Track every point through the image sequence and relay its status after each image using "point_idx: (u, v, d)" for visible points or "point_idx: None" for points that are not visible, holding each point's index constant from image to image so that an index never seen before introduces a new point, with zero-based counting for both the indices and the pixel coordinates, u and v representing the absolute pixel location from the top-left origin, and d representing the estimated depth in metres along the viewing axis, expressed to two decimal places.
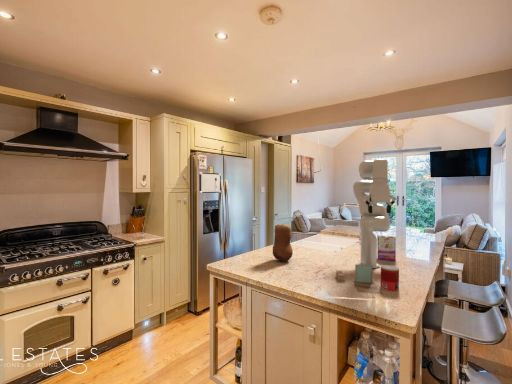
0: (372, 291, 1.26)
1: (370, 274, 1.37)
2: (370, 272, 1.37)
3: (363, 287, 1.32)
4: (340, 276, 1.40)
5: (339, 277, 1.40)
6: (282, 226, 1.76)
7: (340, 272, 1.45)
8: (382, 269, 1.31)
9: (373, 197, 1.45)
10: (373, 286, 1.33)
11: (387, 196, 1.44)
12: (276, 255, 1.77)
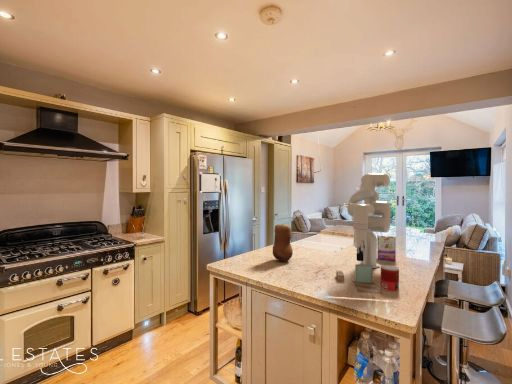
0: (372, 291, 1.26)
1: (370, 274, 1.37)
2: (370, 272, 1.37)
3: (363, 287, 1.32)
4: (340, 276, 1.40)
5: (339, 277, 1.40)
6: (282, 226, 1.76)
7: (340, 272, 1.45)
8: (382, 269, 1.31)
9: (366, 244, 1.41)
10: (373, 286, 1.33)
11: None
12: (276, 255, 1.77)
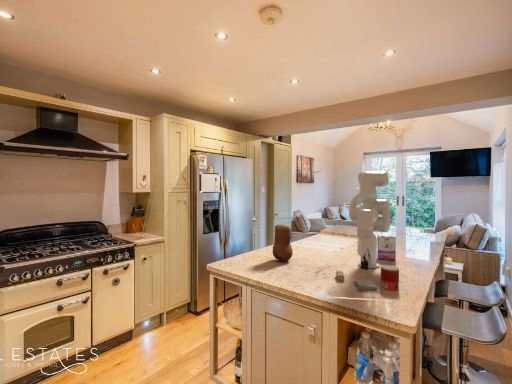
0: (372, 291, 1.26)
1: None
2: None
3: None
4: (340, 276, 1.40)
5: (339, 277, 1.40)
6: (282, 226, 1.76)
7: (340, 272, 1.45)
8: (382, 269, 1.31)
9: (371, 252, 1.32)
10: None
11: None
12: (276, 255, 1.77)
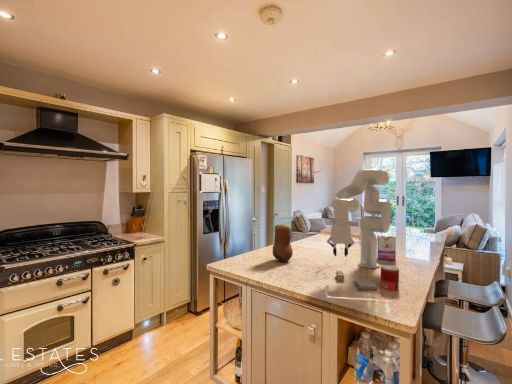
0: (372, 291, 1.26)
1: None
2: None
3: None
4: (340, 276, 1.40)
5: (339, 277, 1.40)
6: (282, 226, 1.76)
7: (340, 272, 1.45)
8: (382, 269, 1.31)
9: None
10: None
11: None
12: (276, 255, 1.77)
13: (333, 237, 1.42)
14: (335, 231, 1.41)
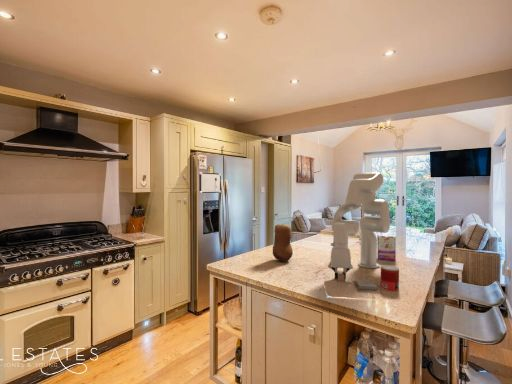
0: (372, 291, 1.26)
1: None
2: None
3: None
4: (340, 276, 1.40)
5: (339, 277, 1.40)
6: (282, 226, 1.76)
7: (340, 272, 1.45)
8: (382, 269, 1.31)
9: None
10: None
11: None
12: (276, 255, 1.77)
13: (333, 261, 1.42)
14: (335, 255, 1.42)
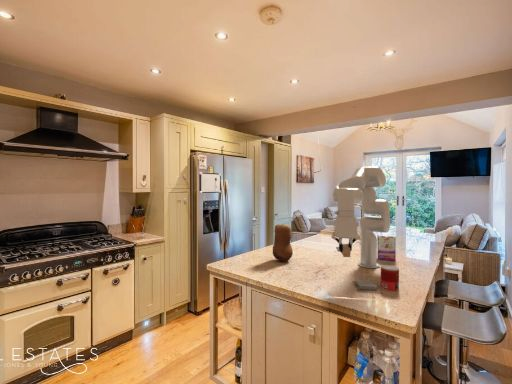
0: (372, 291, 1.26)
1: None
2: None
3: None
4: (346, 249, 1.24)
5: (344, 251, 1.24)
6: (282, 226, 1.76)
7: (345, 245, 1.29)
8: (382, 269, 1.31)
9: None
10: None
11: None
12: (276, 255, 1.77)
13: (337, 231, 1.27)
14: (339, 224, 1.26)
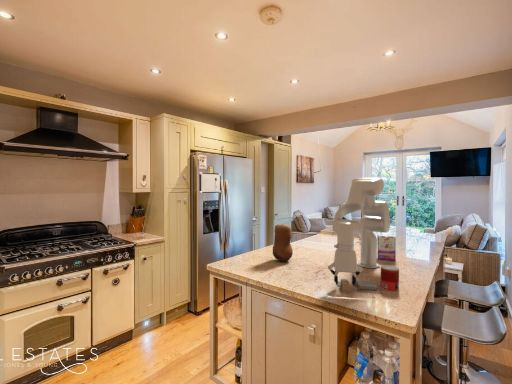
0: (372, 291, 1.26)
1: None
2: None
3: None
4: (345, 286, 1.25)
5: (344, 287, 1.25)
6: (282, 226, 1.76)
7: (345, 281, 1.29)
8: (382, 269, 1.31)
9: None
10: None
11: None
12: (276, 255, 1.77)
13: (337, 265, 1.27)
14: (339, 258, 1.27)
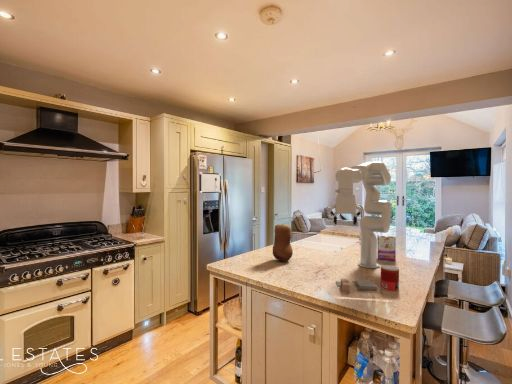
0: (372, 291, 1.26)
1: None
2: None
3: None
4: (345, 286, 1.25)
5: (344, 287, 1.25)
6: (282, 226, 1.76)
7: (345, 281, 1.29)
8: (382, 269, 1.31)
9: None
10: None
11: None
12: (276, 255, 1.77)
13: (338, 207, 1.40)
14: (340, 201, 1.40)
